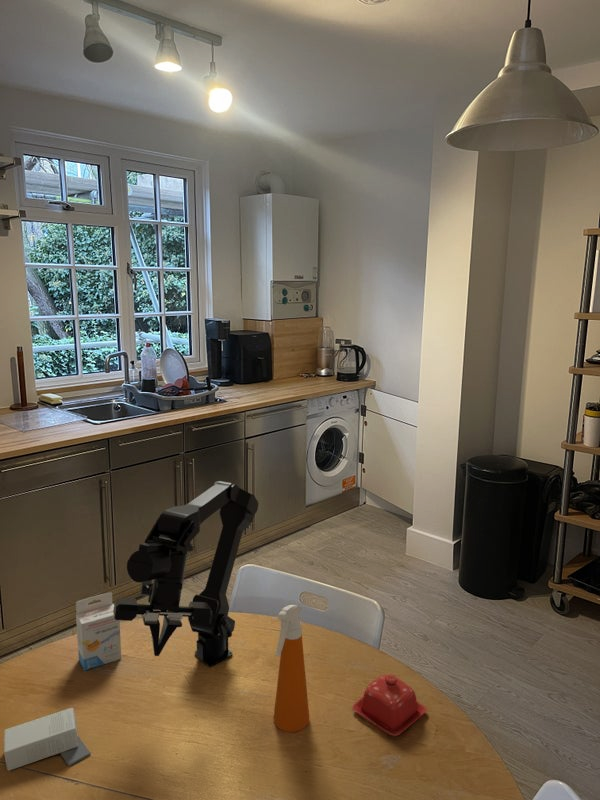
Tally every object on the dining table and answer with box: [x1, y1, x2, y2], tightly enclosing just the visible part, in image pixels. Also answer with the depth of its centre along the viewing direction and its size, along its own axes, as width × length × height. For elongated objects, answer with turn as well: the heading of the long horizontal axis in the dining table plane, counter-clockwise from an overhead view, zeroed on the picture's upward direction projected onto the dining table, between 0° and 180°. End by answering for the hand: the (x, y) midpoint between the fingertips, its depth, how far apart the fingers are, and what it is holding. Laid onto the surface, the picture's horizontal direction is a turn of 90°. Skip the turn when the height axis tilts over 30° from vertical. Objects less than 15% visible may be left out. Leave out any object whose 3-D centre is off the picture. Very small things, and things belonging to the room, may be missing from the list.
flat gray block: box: [59, 736, 91, 767], centre depth 110 cm, size 4×7×1 cm, turn 43°
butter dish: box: [351, 673, 427, 737], centre depth 120 cm, size 12×12×8 cm
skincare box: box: [3, 707, 79, 772], centre depth 110 cm, size 6×4×12 cm
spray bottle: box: [273, 604, 310, 733], centre depth 114 cm, size 7×11×26 cm, turn 158°
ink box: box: [75, 591, 122, 671], centre depth 135 cm, size 8×5×15 cm, turn 123°
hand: (156, 655), depth 117 cm, fingers closed
